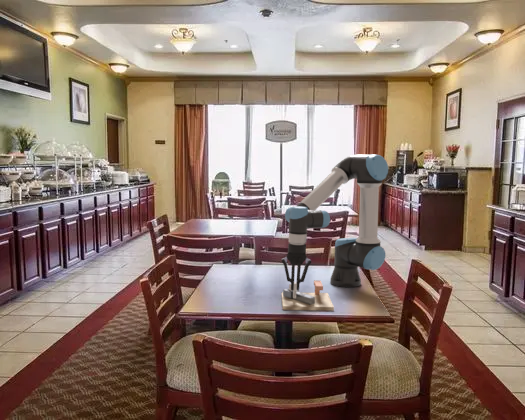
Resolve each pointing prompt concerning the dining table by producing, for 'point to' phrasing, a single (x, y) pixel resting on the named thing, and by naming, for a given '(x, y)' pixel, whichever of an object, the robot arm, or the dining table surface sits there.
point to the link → (299, 296)
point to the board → (320, 304)
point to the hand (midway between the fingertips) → (294, 297)
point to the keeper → (318, 287)
